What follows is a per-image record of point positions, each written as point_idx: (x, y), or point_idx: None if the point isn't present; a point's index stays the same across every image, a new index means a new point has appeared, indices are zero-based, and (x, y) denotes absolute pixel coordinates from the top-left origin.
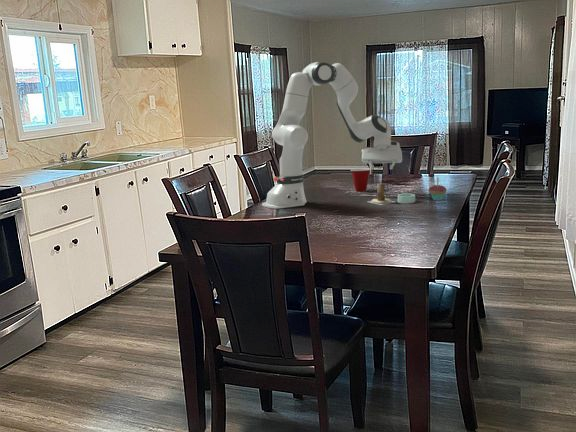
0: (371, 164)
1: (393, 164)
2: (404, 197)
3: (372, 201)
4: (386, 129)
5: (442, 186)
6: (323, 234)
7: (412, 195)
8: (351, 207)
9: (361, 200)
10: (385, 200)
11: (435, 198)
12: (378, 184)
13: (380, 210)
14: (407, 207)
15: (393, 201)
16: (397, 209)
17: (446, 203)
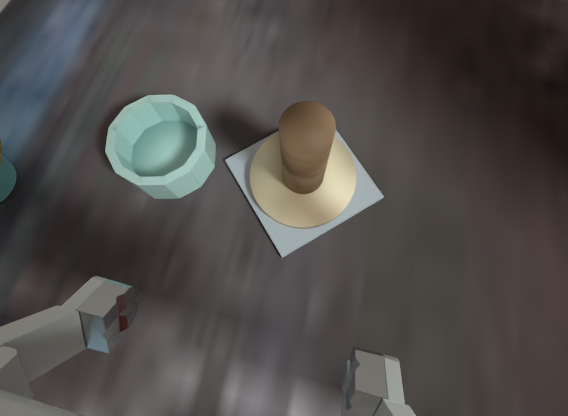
0: (393, 410)
1: (43, 318)
2: (184, 102)
3: (354, 164)
4: None
5: None
6: None
7: (118, 153)
8: (470, 108)
9: (404, 268)
10: (280, 160)
11: (5, 157)
12: (329, 111)
13: (338, 25)
14: (206, 52)
15: (235, 169)
16: (261, 27)
17: (4, 88)
